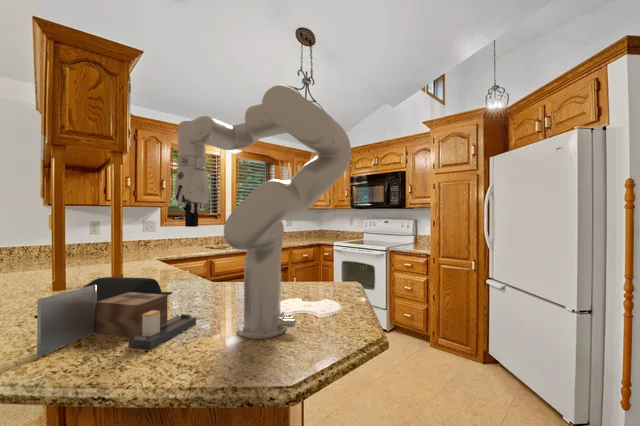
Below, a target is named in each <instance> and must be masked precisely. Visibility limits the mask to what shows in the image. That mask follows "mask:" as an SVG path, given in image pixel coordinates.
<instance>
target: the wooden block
mask: <svg viewBox="0 0 640 426" xmlns="http://www.w3.org/2000/svg"><path fill="white" fill-rule="evenodd" d="M152 310H155V311H160V324H161V323H163V322H165V321H167V320H168V296H167V295H162V294H149V293H135V292H128V293H125V294H121V295H118V296H114V297H111V298H107V299H104V300H101V301H97V321H96V333H95V334H101V335H102V334H103V335H113V336H121V337H129V338H131V337H133V336H136V335H138V334H140V333H142V314H144V313H147V312H149V311H152Z"/></svg>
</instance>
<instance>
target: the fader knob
mask: <svg viewBox="0 0 640 426" xmlns="http://www.w3.org/2000/svg"><path fill="white" fill-rule="evenodd" d="M159 332H160V311H155V310H152V311H149V312H147V313H144V314H142V336H148V337H151V336H153V335H155V334H157V333H159Z"/></svg>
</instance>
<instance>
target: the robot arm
mask: <svg viewBox="0 0 640 426" xmlns="http://www.w3.org/2000/svg"><path fill="white" fill-rule="evenodd" d="M283 134H289V135H290V136H291V137H292V138H294V139H295V140H296V141H298V142H300V143H301V144H302V145H303V146H305V147H307V148H308V149H310V150H313V152H316V153H317V154H316V155H315V156H314V158H313V159H311V160H309V161H308V162H307V163H304V165H302V166H301V167H300V168H299V169H298V170H297V171H296V173H294V174H293V175H292V176H291V177H290V178H289V179H287V180H281V179H269V180H267V181H265V182H261V184H259V185H258V186H257V187H256V188H255V189H254V190H253V191H251V192H250V193H249V195H248V196H247V197H246V198H244V200H243V201H241V203H240V204H239V205H238V206H237V207H236V208H235V209H234V210H232V212H231V213H230V214H229V216H228V217H227V219H226V221H225V224H224V227H223V236H224V240H225V242H226V243H227V244H228V245H229V246H230V247H232V248H233V249H236V250H239V251H240V250H243V251H246V253H245V257H244V265H243V266H244V269H243V270H244V271H243V272H244V274H243V278H244V279H243V282H244V283H243V289H244V290H243V321H242V322H241V323H239V325H238V326H237V333H238V334H239V335H240V336H242V337H244V338H247V339H252V340H253V339H258V340H261V339H268V338H274V337H277V336H279V335H282V334H283V333H284V332H285V331H286V330H287V328H295V326H296V320H295V318H294V317H293V316H291V317H286V316H285V315H284V311H282V310H281V301H282V299H281V295H282V294H281V290H282V289H281V276H282V275H281V273H282V263H281V262H282V248H283V243H284V236H285V227H284V222H283V221H292V220H296V219H298V218H300V217H301V216H302V215H303V214H304V213H305V212H306V211H307V210H308V209H309V208H310V207H311V206H313V204H314V203H316V202H317V201H318V199H320V198H321V196H323V195H324V194H325V193H326V192H327V191H328V189H330V188H331V187H332V186H333V185H334V184H335V183H336V182H338V180H339V179H340V178H341V177H342V176H343V175H344V173H346V171H347V169H348V167H349V165H350V161H351V158H352V157H351V156H352V147H351V141H350V139H349V136H348V134H347V132H346V130H344V128H343V127H342V125H340V124H339V123H338V121H336V120H335V119H334V118H333V117H332V116H331V115H330V114H329V113H327V112H326V111H325V110H324V109H322V108H321V107H319V106H318V105H316V104H315V103H313V102H311V101H310V99H308V98H306V97H305V96H303V95H301V94H300V93H299V92H298V91H296V90H295V89H293V88H292V87H290V86H288V85H285V84H277V85H274V86H272V87H270V88H269V89H267V90H266V92H265V93H264V95H263V97H262V99H261V103H260V104H255V105H251V106H249V107H248V108H247V109H246V110H245V114H244V122H243V123H239V124H238V123H237V124H235V125H231V124H230V125H229V124H227V123H225V122H223V121H221V120H219V119H217V118H216V119H215V118H214V117H211V116H208V115H203V116H202V115H201V116H199V117H197V118H194V119H192V120H183V121H181V122H180V123H179V124H178V128H177V169H176V172H175V173H176V174H175V182H174V199H175V201H177V206H178V207H180V208H182V210H183V213H184V216H185V217H184V218H185V221H184V222H185V223H184V224H185V225H184V226H185V227H186V228H187V227H188V228H190V227H191V228H197V227H199V214H200V212H201V211H200V210H201V209H202V208H205V206H206V204H208V203H209V201H210V187H209V178H208V172H207V170H206V167H207V166H206V164H207V163H206V161H207V159H206V154H207V151H206V149H207V146H211V147H215V148H217V149H221V150H223V151H224V150H225V151H234V150H239V149H245V148H248V147H251V146H252V145H255V144H256V143H257V142H259V140H260V139H263V138H269V137H273V136H278V135H283ZM206 145H207V146H206Z"/></svg>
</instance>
